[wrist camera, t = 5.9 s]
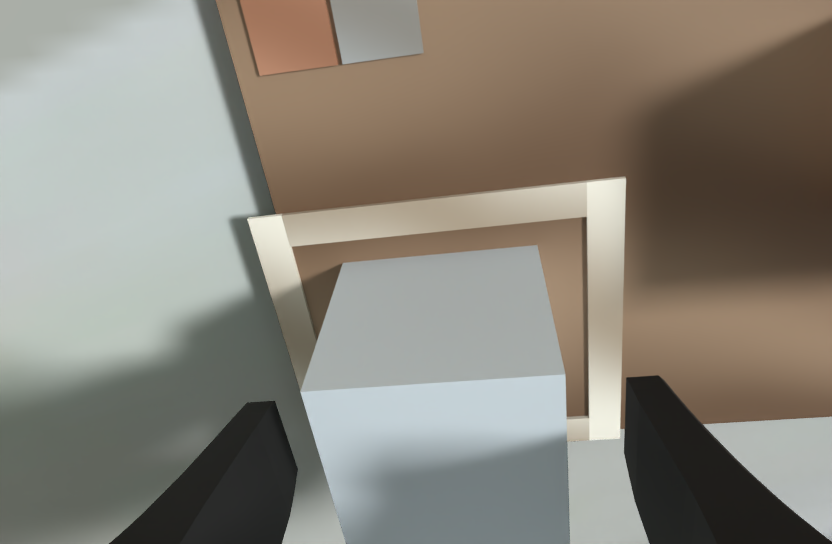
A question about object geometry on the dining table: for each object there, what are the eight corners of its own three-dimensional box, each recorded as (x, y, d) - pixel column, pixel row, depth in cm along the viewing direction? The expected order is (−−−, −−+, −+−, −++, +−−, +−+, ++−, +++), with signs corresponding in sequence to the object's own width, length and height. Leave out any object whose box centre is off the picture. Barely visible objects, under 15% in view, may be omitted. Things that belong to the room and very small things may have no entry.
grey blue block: (544, 396, 16) (569, 549, 13) (375, 406, 17) (350, 556, 13) (537, 245, 14) (565, 374, 10) (342, 262, 15) (300, 392, 11)
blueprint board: (985, 397, 16) (1006, 416, 16) (325, 437, 18) (320, 455, 18) (1248, -255, 10) (1301, -265, 9) (173, -70, 12) (158, -68, 11)
